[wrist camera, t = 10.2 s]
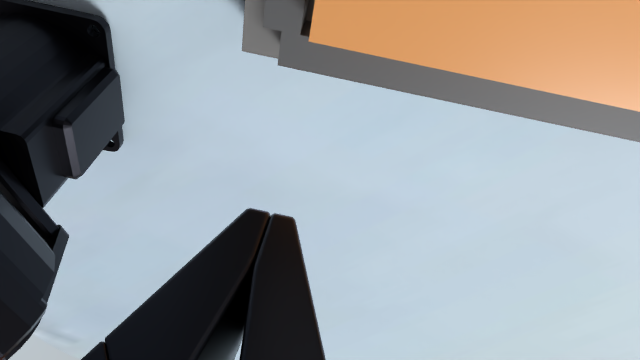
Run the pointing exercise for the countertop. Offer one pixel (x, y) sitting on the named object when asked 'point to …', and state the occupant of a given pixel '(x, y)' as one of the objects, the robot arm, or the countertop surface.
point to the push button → (500, 41)
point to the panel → (417, 74)
